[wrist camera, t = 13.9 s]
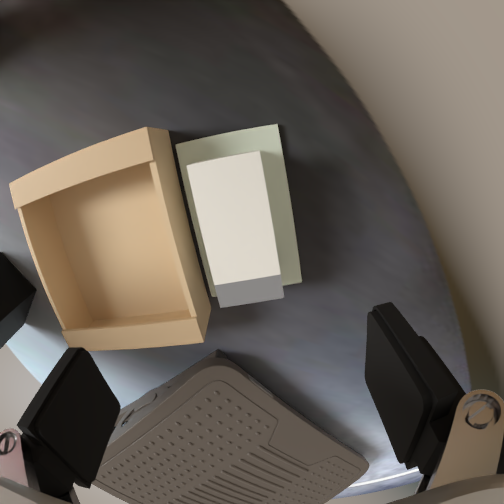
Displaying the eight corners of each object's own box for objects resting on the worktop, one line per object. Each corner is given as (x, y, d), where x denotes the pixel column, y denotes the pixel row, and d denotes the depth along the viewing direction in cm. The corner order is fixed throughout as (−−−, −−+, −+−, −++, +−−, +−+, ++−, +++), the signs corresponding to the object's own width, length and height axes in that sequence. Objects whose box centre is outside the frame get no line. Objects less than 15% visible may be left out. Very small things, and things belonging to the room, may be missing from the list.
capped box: (200, 161, 25) (186, 165, 19) (257, 150, 25) (259, 150, 19) (225, 275, 29) (220, 307, 23) (277, 267, 28) (284, 297, 23)
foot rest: (369, 450, 43) (386, 504, 31) (246, 498, 49) (246, 543, 37) (221, 333, 32) (209, 422, 20) (93, 415, 39) (68, 472, 27)
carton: (43, 174, 25) (9, 183, 20) (168, 130, 24) (146, 126, 19) (93, 322, 31) (71, 351, 26) (211, 308, 30) (203, 342, 25)
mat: (176, 144, 25) (175, 144, 24) (276, 124, 24) (277, 124, 24) (212, 294, 30) (211, 297, 29) (301, 279, 29) (302, 282, 29)
